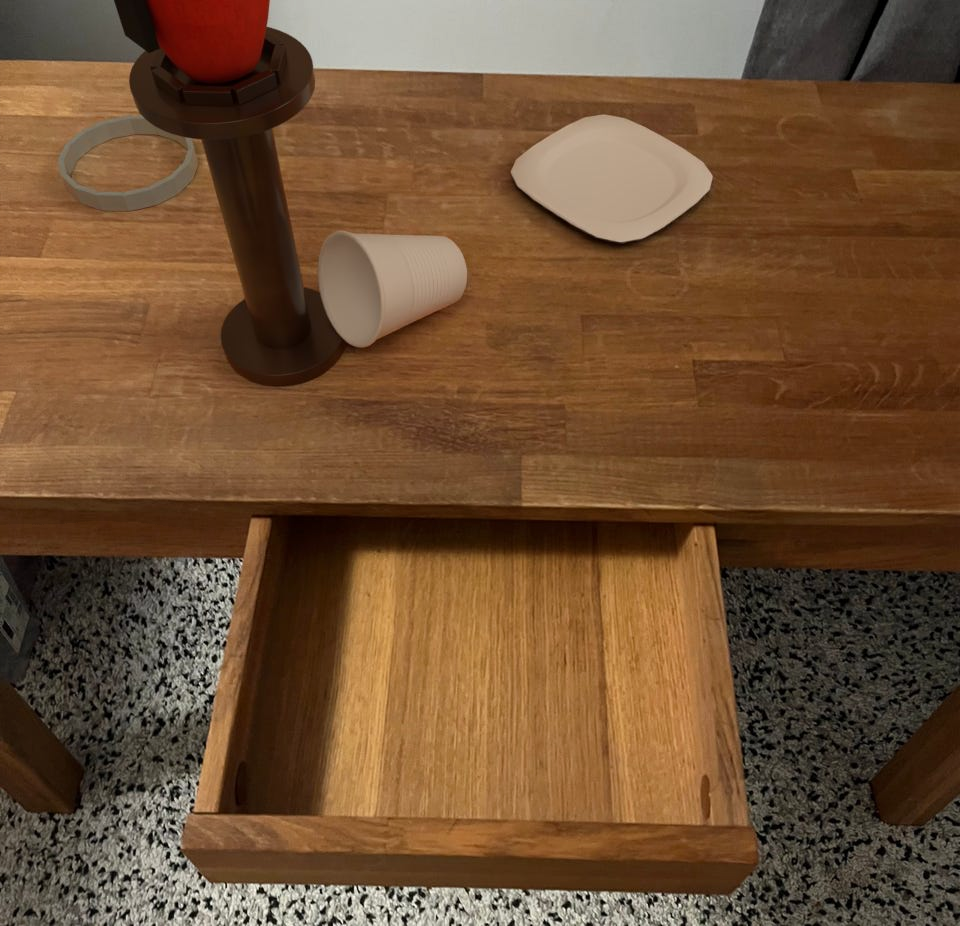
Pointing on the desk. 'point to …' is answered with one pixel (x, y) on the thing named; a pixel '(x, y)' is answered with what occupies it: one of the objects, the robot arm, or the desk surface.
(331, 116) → the desk surface
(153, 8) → the apple
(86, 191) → the grey faceted ring
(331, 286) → the cup
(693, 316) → the desk surface
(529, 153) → the plate
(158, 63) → the holder
